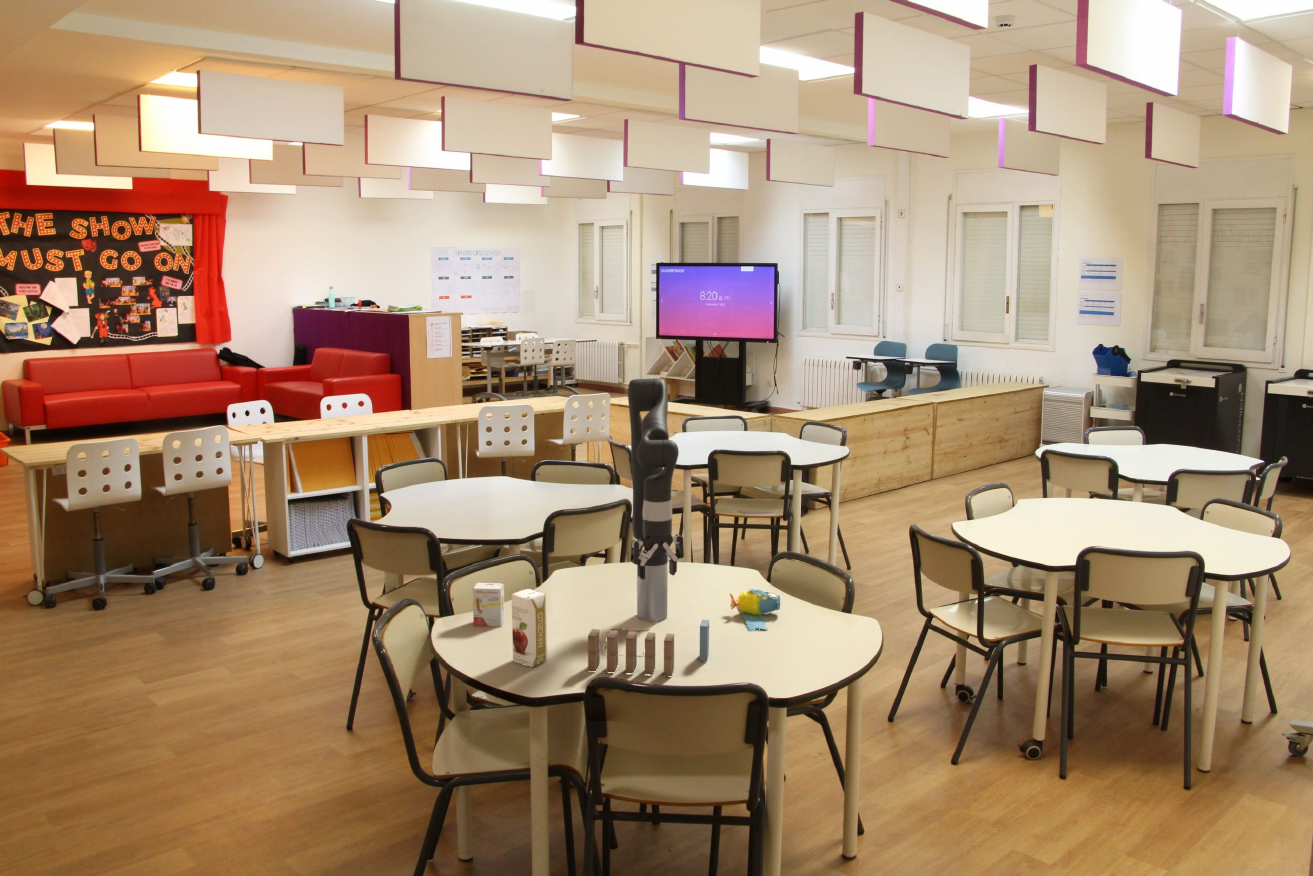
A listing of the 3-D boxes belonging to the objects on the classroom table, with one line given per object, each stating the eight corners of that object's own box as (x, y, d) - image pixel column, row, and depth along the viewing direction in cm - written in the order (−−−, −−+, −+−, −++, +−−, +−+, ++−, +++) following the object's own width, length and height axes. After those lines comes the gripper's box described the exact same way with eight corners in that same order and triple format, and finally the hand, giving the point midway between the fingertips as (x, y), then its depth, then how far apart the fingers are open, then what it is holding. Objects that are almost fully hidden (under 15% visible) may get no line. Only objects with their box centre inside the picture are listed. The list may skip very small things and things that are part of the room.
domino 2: (610, 666, 262) (610, 630, 260) (618, 666, 262) (618, 630, 260) (606, 673, 257) (606, 637, 255) (614, 674, 257) (614, 637, 255)
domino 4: (647, 668, 260) (647, 632, 259) (655, 668, 260) (655, 632, 259) (644, 675, 256) (644, 639, 254) (652, 676, 255) (652, 639, 254)
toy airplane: (724, 575, 314) (771, 575, 315) (723, 601, 315) (770, 601, 316) (738, 604, 286) (789, 604, 288) (736, 632, 288) (788, 632, 289)
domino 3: (629, 667, 261) (629, 631, 260) (636, 667, 261) (636, 631, 259) (625, 674, 256) (625, 638, 255) (633, 675, 256) (633, 638, 254)
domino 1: (592, 664, 263) (592, 629, 261) (599, 665, 262) (599, 629, 261) (588, 672, 258) (587, 635, 256) (595, 672, 258) (595, 636, 256)
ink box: (472, 626, 291) (471, 587, 289) (476, 620, 296) (475, 582, 294) (501, 627, 290) (500, 588, 288) (504, 621, 295) (504, 583, 293)
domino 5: (666, 669, 260) (666, 633, 258) (673, 670, 259) (674, 634, 258) (663, 677, 255) (663, 640, 253) (671, 677, 255) (671, 640, 253)
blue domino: (701, 654, 270) (701, 619, 269) (708, 654, 270) (709, 620, 268) (699, 661, 265) (699, 626, 264) (706, 661, 265) (707, 626, 263)
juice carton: (529, 653, 270) (528, 586, 267) (551, 661, 265) (550, 593, 262) (508, 661, 265) (507, 593, 261) (530, 669, 259) (529, 600, 256)
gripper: (676, 510, 260) (675, 569, 263) (626, 515, 254) (626, 576, 257) (688, 516, 253) (688, 577, 256) (637, 522, 247) (637, 584, 250)
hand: (657, 576), depth 256 cm, fingers open, 8 cm apart
